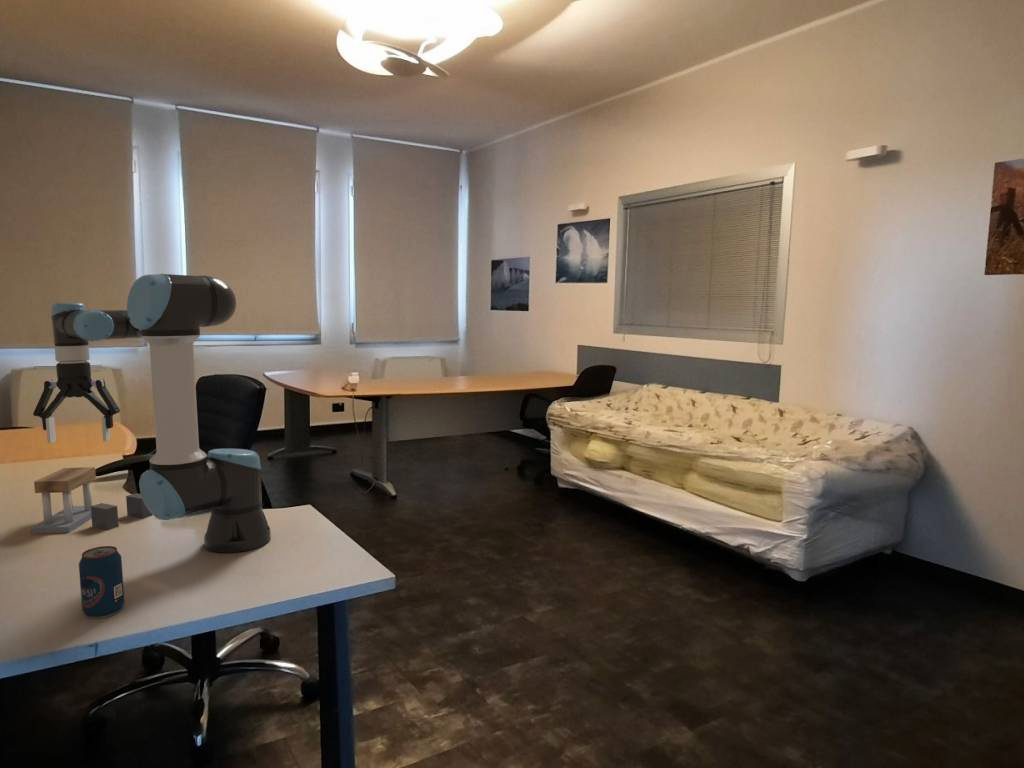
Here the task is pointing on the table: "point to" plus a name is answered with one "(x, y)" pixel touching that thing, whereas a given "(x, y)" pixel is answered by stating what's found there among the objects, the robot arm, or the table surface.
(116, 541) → the table surface
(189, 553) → the table surface
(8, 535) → the table surface
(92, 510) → the rests
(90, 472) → the shelf board
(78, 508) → the peg stand
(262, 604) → the table surface
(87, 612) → the soda can
